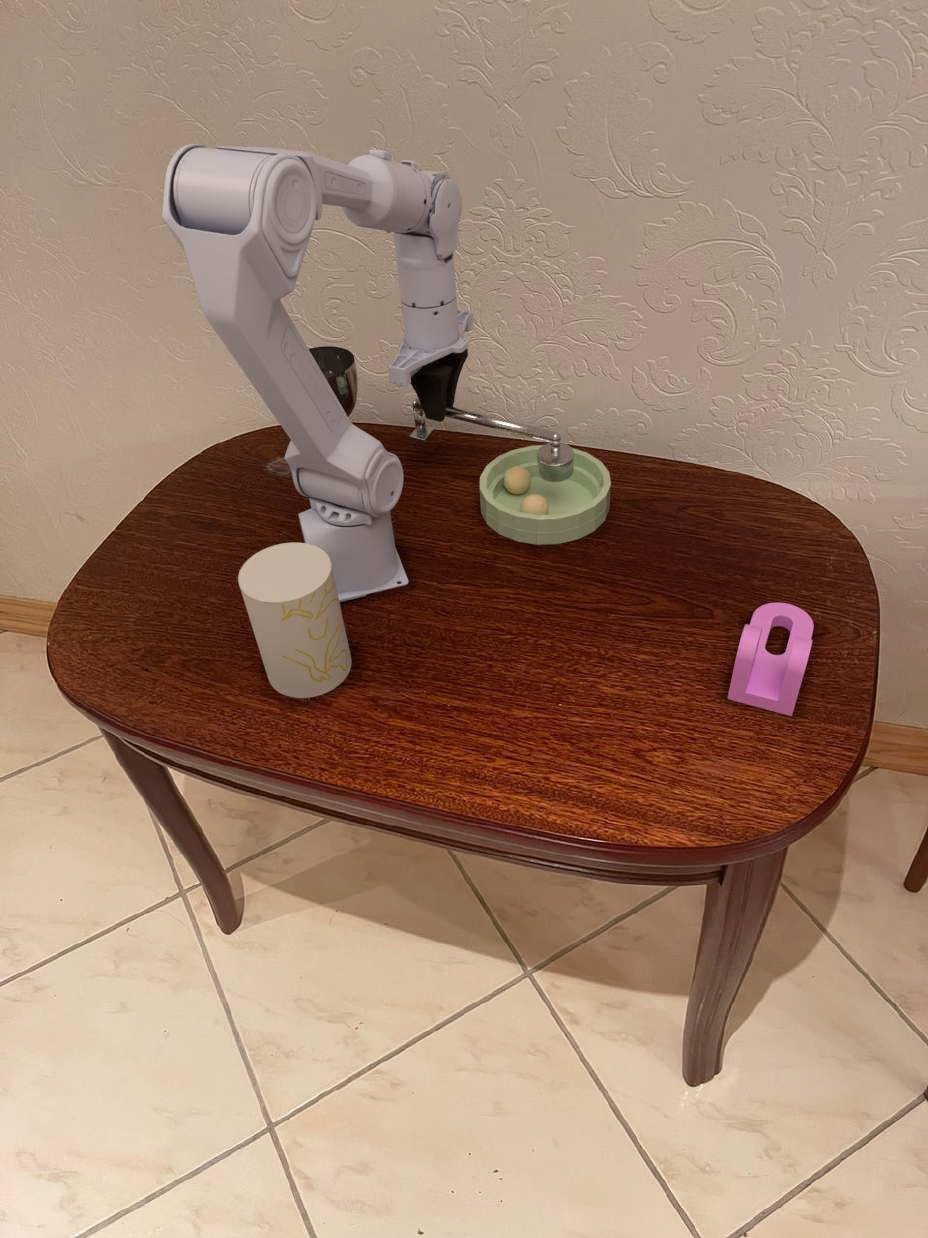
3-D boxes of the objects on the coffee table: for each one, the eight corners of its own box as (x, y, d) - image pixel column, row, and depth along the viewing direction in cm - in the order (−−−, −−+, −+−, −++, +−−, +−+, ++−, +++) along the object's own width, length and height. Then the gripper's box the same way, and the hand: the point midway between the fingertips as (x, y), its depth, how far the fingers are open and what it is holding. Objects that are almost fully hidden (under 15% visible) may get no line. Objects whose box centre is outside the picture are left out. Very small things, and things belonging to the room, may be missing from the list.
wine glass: (303, 464, 112) (279, 354, 102) (364, 451, 114) (346, 340, 103) (314, 498, 106) (290, 385, 96) (379, 484, 108) (361, 370, 98)
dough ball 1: (500, 496, 104) (495, 472, 102) (516, 484, 106) (511, 460, 104) (523, 500, 102) (518, 475, 100) (538, 487, 104) (534, 462, 102)
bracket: (791, 716, 77) (807, 660, 73) (727, 698, 79) (738, 643, 75) (814, 621, 86) (830, 565, 81) (756, 607, 88) (768, 552, 83)
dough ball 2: (521, 523, 97) (523, 494, 97) (517, 521, 100) (519, 492, 100) (550, 524, 98) (552, 495, 97) (545, 522, 101) (546, 494, 100)
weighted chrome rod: (579, 464, 98) (580, 426, 94) (565, 486, 96) (564, 448, 92) (423, 424, 105) (417, 387, 101) (406, 444, 103) (400, 407, 99)
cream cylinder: (310, 710, 81) (283, 614, 73) (250, 675, 85) (218, 580, 77) (368, 658, 86) (350, 562, 78) (309, 626, 90) (285, 531, 82)
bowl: (504, 560, 96) (503, 531, 93) (466, 488, 106) (464, 459, 103) (629, 530, 98) (632, 501, 95) (580, 463, 109) (581, 434, 106)
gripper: (426, 332, 85) (438, 454, 94) (495, 275, 94) (499, 392, 103) (364, 321, 87) (381, 441, 96) (437, 266, 96) (446, 381, 106)
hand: (439, 415), depth 100 cm, fingers closed on weighted chrome rod
